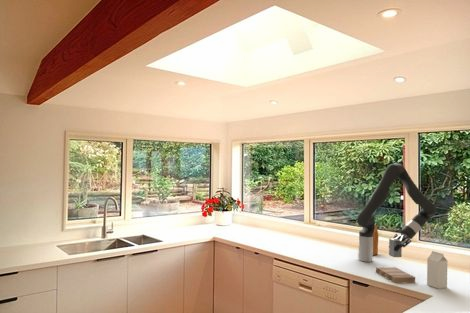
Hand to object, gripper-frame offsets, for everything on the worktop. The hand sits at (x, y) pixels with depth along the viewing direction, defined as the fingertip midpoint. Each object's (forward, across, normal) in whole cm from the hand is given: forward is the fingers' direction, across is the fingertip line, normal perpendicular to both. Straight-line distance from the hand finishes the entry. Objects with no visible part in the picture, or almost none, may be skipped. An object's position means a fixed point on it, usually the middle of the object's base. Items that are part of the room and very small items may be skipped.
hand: (392, 249), depth 214 cm
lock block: (+2, 0, +4) cm, 5 cm away
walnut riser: (+11, 0, +13) cm, 17 cm away
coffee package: (+1, -56, +23) cm, 61 cm away
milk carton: (0, +17, +24) cm, 29 cm away
